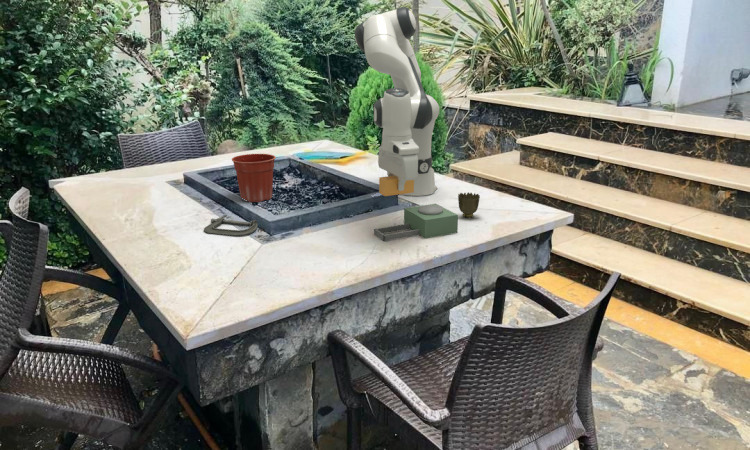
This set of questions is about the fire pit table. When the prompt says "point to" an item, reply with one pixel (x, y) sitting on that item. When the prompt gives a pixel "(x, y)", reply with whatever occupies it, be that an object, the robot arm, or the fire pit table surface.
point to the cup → (468, 204)
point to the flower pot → (255, 176)
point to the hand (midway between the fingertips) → (396, 188)
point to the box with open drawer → (422, 223)
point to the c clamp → (226, 232)
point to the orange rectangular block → (394, 186)
